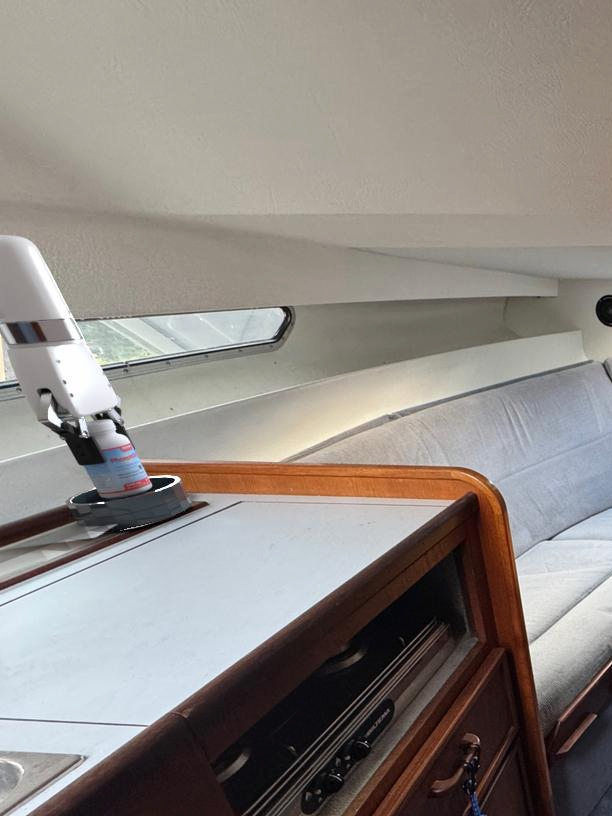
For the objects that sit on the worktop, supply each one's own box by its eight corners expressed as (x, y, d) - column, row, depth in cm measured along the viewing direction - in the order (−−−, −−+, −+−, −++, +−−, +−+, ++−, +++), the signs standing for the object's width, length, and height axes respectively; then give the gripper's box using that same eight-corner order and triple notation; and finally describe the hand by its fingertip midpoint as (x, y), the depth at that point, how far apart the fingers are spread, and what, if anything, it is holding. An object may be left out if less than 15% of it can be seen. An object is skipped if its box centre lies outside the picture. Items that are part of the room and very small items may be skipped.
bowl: (60, 541, 84) (41, 510, 82) (117, 510, 95) (102, 482, 93) (166, 527, 87) (150, 497, 85) (208, 498, 98) (196, 471, 96)
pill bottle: (139, 496, 87) (101, 425, 82) (91, 502, 86) (50, 429, 81) (162, 484, 93) (128, 416, 88) (117, 489, 91) (80, 420, 86)
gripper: (55, 331, 86) (115, 446, 93) (-47, 342, 71) (35, 478, 78) (115, 328, 87) (169, 440, 95) (28, 338, 72) (101, 471, 80)
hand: (108, 456), depth 87 cm, fingers closed on pill bottle, 6 cm apart
